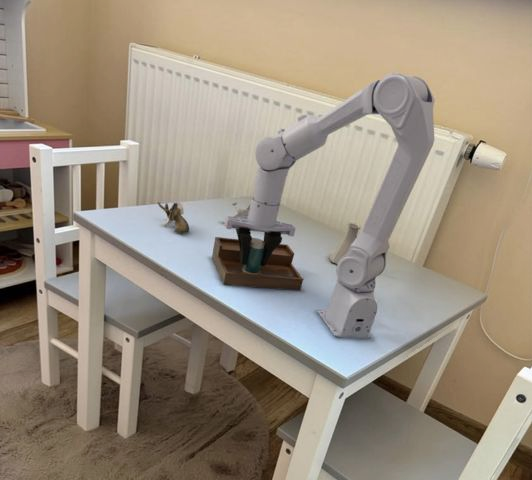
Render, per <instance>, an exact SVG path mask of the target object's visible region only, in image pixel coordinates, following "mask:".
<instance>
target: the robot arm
mask: <svg viewBox="0 0 532 480" xmlns="http://www.w3.org/2000/svg"><path fill="white" fill-rule="evenodd" d="M435 102H436V101H435V98H434V95H433V93H432V91H431V89H430V87H429V85H428V83H427V82H426V80H424V79H423V78H421V77H418V76H409V75H406V74H404V73H402V72H398V71H397V72H391V73H387V74H386V75H384V76H383V77H382V78H381V79H380V80H379V79H376V80H374V81H372V82H370V83H369V84H367V85H366V86H364V87H363V88H362V89H360V90H358V91H357V92H356V93H354V94H352V95H351V96H349V97H348V98H347V99H345V100H343V101H341V102H340V103H339V104H337V105H336V106H334V107H333V108H331V109H330V110H328V111H327V112H324V114H323V115H320V116H319V117H318V116H316V115H314V114H309V115H307V114H301V115H299V116H298V117H297V122H295V123H294V124H292V125H291V126H289V127H287V128H286V129H285V128H280V129H279V130H277V135H276V137H275V136H270V135H267V136H264V137H263V138H262V139H261V140H260V141H259V142H258V143H257V145H256V148H255V153H254V154H255V160H256V163H257V165H258V167H257V171H256V176H255V181H254V186H253V191H252V196H251V201H250V204H251V205H250V204H249V205H250V210H249V215H248V217H234V216H228V215H226V216H225V219H224V222H225V224H224V227H225V229H227V230H232V229H234V230H235V232H236V235H237V239H238V240H239V247H240V262H241V264H242V265H245V263H246V259H247V253H248V249H249V246H250V243H251V240H252V238H253V237H252V235H251V234H252V231H253V232H261V233H263V241H264V242H265V245H264V247H265V250H264V254H263V258H262V263H261V266H263V267H264V266H265V264H266V262H267V260H268V259H269V257H270V255H271V254H272V252H273V251H274V250H275V248H276V247H277V246H278V245H279V244H282V241H283V237H282V235H287V236H288V237H294V236H295V233H296V226H295V225H294V224H292V223H286V222H282V221H277V218H278V215H279V210H280V206H281V202H282V198H283V197H282V196H283V193H284V190H285V185H286V181H287V177H288V173H289V171H290V169H291V168H293V167H294V165H295V164H296V162H297V161H299V160H300V159H302V158H304V157H305V156H307V155H310V154H311V153H313V152H315V151H317V150H318V149H320V148H321V147H324V146H325V145H326V142H327V141H328V140H327V139H328V137H329V135H330V134H332V133H335V132H336V131H338V130H341V129H342V128H344V127H347V126H348V125H350V124H353V123H354V122H356V121H358V120H360V119H362V118H364V117H366V116H369V115H380V116H381V118H382V119H383V120H384V121H385V122H386V123H387V124H388V125H389V126H390V128H391V130H392V132H393V135H394V137H395V139H396V142H397V147H396V150H395V152H394V154H393V157H392V159H391V162H390V164H389V166H388V168H387V170H386V173H385V175H384V177H383V180H382V182H381V184H380V186H379V188H378V191H377V194H376V196H375V199H374V201H373V203H372V205H371V208H370V211H369V212H368V215H367V217H366V219H365V221H364V224H363V226H362V228H361V231H360V233H359V234H358V235H357V238H356V239H355V240H354V242H353V243H352V244H351V246H350V248H349V251H348V252H347V253H346V254H345V255H344V256H343V257H342V258H341V259H340V260H339V262H338V264H336V268H335V269H336V276H337V279H336V283H335V285H334V289H333V292H332V295H331V299H330V301H329V305H328V308H327V310H322V309H319V310H318V311H317V313H318V315H319V316H320V317H321V319H322V320H323V322H324V323H325V324H326V326H327V328H328V329H329V330H330V331H331V333H332V334H333V336H334V337H336V338H353V339H354V338H356V339H372V337H373V335H372V334H371V328H372V326H373V323H374V321H375V318H376V316H377V313H378V304H377V303H378V302H377V301H376V299H375V296H374V295H375V289H376V278H377V277H379V276H381V275H382V274H383V273H384V271H385V270H386V266H387V254H388V251H389V249H390V242H389V241H390V238H391V235H392V234H393V231H394V229H395V228H396V225H397V223H398V221H399V219H400V217H401V215H402V213H403V210H404V208H405V206H406V204H407V202H408V200H409V197H410V195H411V193H412V191H413V189H414V187H415V185H416V182H417V181H418V179H419V176H420V174H421V172H422V170H423V167H424V165H425V164H426V162H427V159H428V157H429V155H430V152H431V151H432V148H433V146H434V143H435V125H434V124H435V122H434V105H435Z"/></svg>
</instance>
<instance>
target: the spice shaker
mask: <svg viewBox="0 0 532 480" xmlns="http://www.w3.org/2000/svg"><path fill="white" fill-rule="evenodd" d="M264 245H265V242H264V239H261V238H257V237H252V240H251V243H250V246H249V249H248V253H247V259H246V263H245V265H243V266H242V269H243V270H244V271H246V272H249V273H259V272H260V267H261V263H262V258H263V254H264V250H265V247H264Z"/></svg>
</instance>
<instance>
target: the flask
mask: <svg viewBox="0 0 532 480" xmlns="http://www.w3.org/2000/svg"><path fill="white" fill-rule="evenodd" d="M360 229H362V228H361V225H360V224H357V223H353V222H349V223H347V229H346V232H345V234H344V236H343V238H342V240H341V241H340V242H339V244H338V245H337V246H336V248H335V249H334V251H333V252H332V253H331V255H330V256H329V259H330V261H331V263H333V264H336V265H337V264H338V262H339V260H340V259H341V258H342V257H343V256H344V255H345V254H346V253H347V252H348V251H349V248H350V246H351V244H352V243H353V242H354V240H355V239H356V238H357V237H358V233H359V231H360Z"/></svg>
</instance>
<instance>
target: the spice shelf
mask: <svg viewBox="0 0 532 480" xmlns="http://www.w3.org/2000/svg"><path fill="white" fill-rule="evenodd" d="M294 256H295V252H294V251H293V250H292V248H291V247H290V246H289V244H284V243H280V244H279V245H278V246H277V247H276V248H275V250H274V251H273V252H272V254H271V255H270V257H269V259H268V260H267V262H266V264H265V266H264V267H263V266H261V267H260V272H259V273H249V272H246V271H244V270H243V269H242V266H243V265H242V264H241V262H240V247H239V240H238V238H230V237H222V236H221V237H220V236H215V237H214V243H213V249H212V254H211V260H212V262H213V265H214V267H215V269H216V271H217V274H218V276H219V278H220V281H221V283H222V285H223V286H235V287H247V288H248V287H250V288H261V289H274V290H275V289H276V290H286V291H287V290H288V291H289V290H290V291H301V289H302V285H303V281H304V278H303V277H302V275H301V274H300V273H299V272H298V270H297V268H296V267H295V266H294V265H293V260H294V258H295V257H294Z"/></svg>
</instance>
